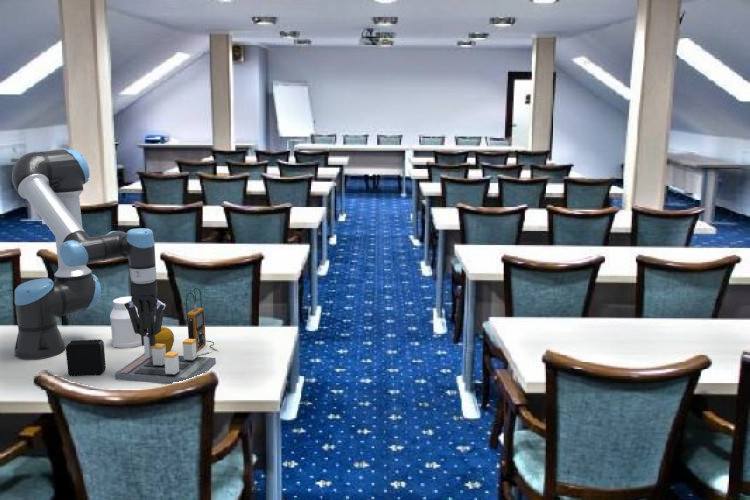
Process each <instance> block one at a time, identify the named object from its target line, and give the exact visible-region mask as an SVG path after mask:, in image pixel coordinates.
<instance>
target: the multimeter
mask: <svg viewBox="0 0 750 500" xmlns="http://www.w3.org/2000/svg"><path fill="white" fill-rule="evenodd" d="M195 290H198V291H199V297H200V301H199V302H200V303H202V294H201V293H202V291H201V290H200V288H197V287H195V288H194V289H193V293H192V292H189V293H187V295H186V300H185V302H186V303H185V305H186V306H185V308H186V320H187V333H188V335H187V336H188V337H187V339H196V352H199V350H201V349H202V348H203V347H205V346H206V342H210V343H213V344H210V345H209V347H210V348H211V349H212V351H206V352H203V353H200V354H197V357H201V356H206V355H208V354H210V353H213V352H214V351H216V352H218V353H219V350H218V349H217V348H215V347H212V346H214V345H215V342H214V341H212V340H211V341H209V340H206V339H207V338H206V323H205V322H206V321H205V308H204V307H203V306H202V304H200V307H198V305H197V298H196V297H197V296H196V291H195ZM190 294H191V295H192V296H193V309H191V311H188V296H189V295H190Z"/></svg>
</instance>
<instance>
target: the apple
mask: <svg viewBox="0 0 750 500" xmlns="http://www.w3.org/2000/svg"><path fill="white" fill-rule="evenodd" d="M174 335H175V334H174V332H173V331H172V330H171V329H170V328H169V327H166V326H161V332H160V333H158V334H156V335H155V344H165V345H166V353H168V352H172V349H173V346H174V341H175V336H174Z"/></svg>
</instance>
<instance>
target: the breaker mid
mask: <svg viewBox="0 0 750 500" xmlns="http://www.w3.org/2000/svg"><path fill="white" fill-rule="evenodd" d="M165 354H166V345H165V344H155V345H153V346H152V355H153V365H164V364H165V359H164V355H165Z"/></svg>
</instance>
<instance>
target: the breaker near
mask: <svg viewBox="0 0 750 500" xmlns="http://www.w3.org/2000/svg"><path fill="white" fill-rule="evenodd" d="M178 355H179V352H177V351H170V352H168V353H166V354H165V355H164V359H165V373H166V374H176V373H177V372H179V359H178Z"/></svg>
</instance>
